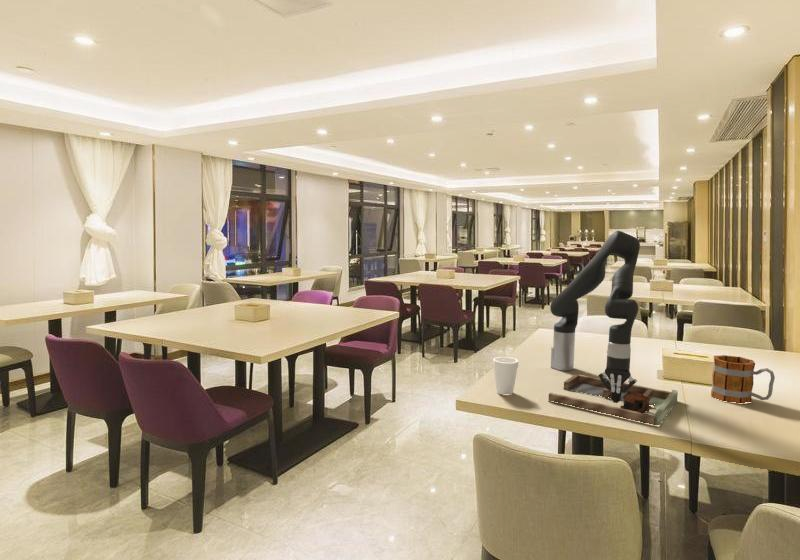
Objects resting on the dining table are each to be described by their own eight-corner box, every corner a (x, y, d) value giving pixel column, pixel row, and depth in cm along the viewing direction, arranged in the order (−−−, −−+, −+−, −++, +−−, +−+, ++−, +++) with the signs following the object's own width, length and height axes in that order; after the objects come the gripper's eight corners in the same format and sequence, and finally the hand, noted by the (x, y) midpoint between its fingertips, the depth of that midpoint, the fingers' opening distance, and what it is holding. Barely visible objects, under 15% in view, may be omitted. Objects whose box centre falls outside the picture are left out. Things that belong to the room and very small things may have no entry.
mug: (703, 397, 186) (706, 358, 184) (717, 390, 194) (720, 353, 193) (766, 412, 170) (769, 370, 169) (777, 404, 179) (781, 364, 177)
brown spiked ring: (612, 410, 173) (619, 388, 175) (635, 421, 174) (642, 399, 175) (633, 413, 161) (641, 390, 163) (657, 425, 162) (665, 402, 164)
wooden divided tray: (546, 401, 180) (546, 390, 180) (575, 380, 205) (576, 371, 204) (658, 427, 157) (659, 415, 156) (677, 401, 181) (677, 390, 181)
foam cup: (502, 398, 183) (503, 364, 182) (487, 390, 191) (488, 358, 190) (522, 394, 187) (523, 361, 186) (506, 387, 196) (507, 355, 194)
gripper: (641, 356, 171) (638, 403, 173) (602, 349, 179) (599, 395, 181) (636, 360, 165) (633, 409, 167) (596, 353, 173) (593, 400, 175)
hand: (615, 402), depth 174 cm, fingers closed
